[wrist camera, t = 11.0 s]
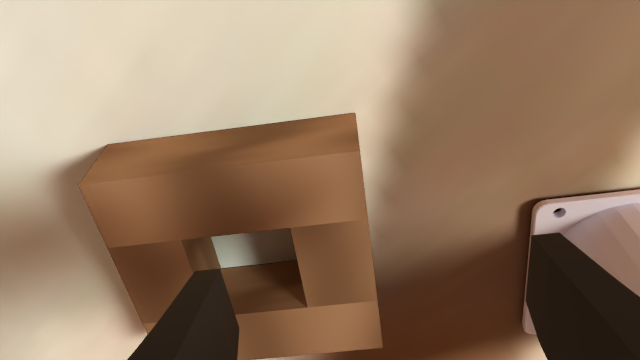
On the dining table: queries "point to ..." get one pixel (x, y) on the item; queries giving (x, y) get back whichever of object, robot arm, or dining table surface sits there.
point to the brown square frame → (247, 229)
